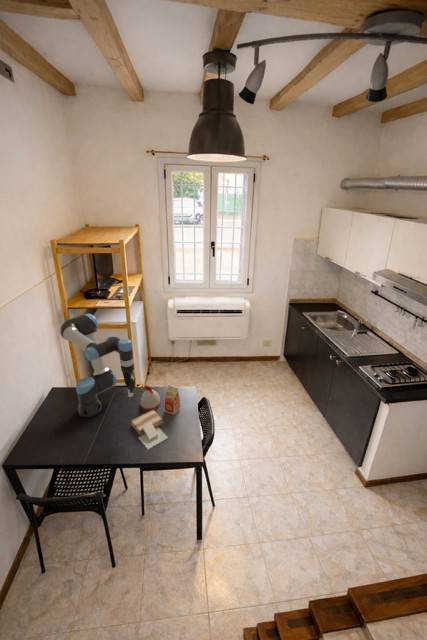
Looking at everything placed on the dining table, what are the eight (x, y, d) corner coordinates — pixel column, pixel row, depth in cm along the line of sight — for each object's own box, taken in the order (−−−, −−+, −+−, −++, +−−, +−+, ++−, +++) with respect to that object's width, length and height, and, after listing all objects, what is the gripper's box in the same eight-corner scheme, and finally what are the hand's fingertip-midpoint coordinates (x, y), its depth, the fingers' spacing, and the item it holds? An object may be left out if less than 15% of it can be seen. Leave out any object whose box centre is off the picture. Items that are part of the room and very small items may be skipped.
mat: (138, 438, 191) (138, 437, 191) (158, 427, 199) (158, 426, 199) (147, 449, 182) (147, 449, 182) (168, 438, 191) (168, 437, 190)
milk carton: (163, 411, 213) (161, 387, 204) (170, 403, 220) (168, 379, 212) (175, 415, 209) (174, 390, 201) (182, 406, 217) (180, 382, 209)
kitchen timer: (151, 395, 229) (149, 378, 223) (164, 402, 222) (163, 384, 215) (136, 405, 219) (134, 387, 213) (150, 413, 211) (148, 395, 205)
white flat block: (142, 427, 192) (142, 426, 191) (150, 423, 196) (151, 422, 194) (149, 440, 188) (149, 439, 187) (157, 435, 192) (158, 434, 190)
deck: (131, 425, 201) (131, 420, 199) (153, 414, 210) (153, 409, 208) (140, 435, 192) (140, 430, 191) (163, 424, 202) (162, 419, 200)
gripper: (116, 361, 186) (120, 393, 196) (126, 371, 178) (130, 403, 188) (127, 357, 191) (131, 388, 201) (138, 366, 182) (141, 398, 192)
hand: (130, 395), depth 194 cm, fingers closed
